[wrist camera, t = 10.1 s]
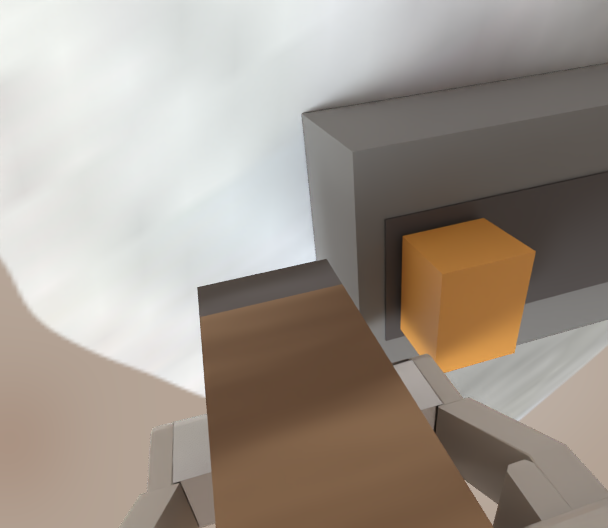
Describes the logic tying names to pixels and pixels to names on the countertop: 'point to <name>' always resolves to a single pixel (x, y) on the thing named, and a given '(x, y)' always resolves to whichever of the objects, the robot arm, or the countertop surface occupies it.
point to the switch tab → (464, 292)
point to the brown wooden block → (316, 414)
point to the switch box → (468, 190)
